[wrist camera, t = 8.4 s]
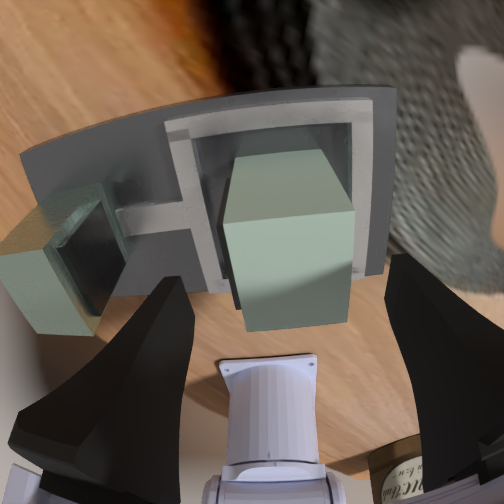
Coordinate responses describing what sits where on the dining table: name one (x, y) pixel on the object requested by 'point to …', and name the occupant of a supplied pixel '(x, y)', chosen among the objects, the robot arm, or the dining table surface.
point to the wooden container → (396, 470)
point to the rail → (182, 194)
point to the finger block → (287, 240)
